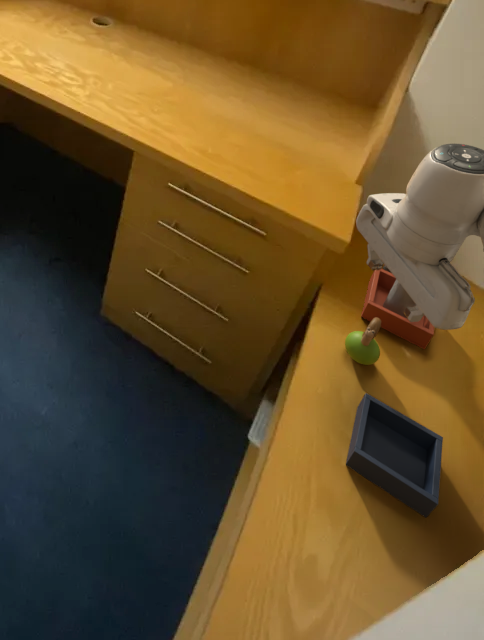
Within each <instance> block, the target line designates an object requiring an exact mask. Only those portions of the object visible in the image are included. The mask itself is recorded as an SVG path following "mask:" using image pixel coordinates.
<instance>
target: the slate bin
mask: <svg viewBox="0 0 484 640" xmlns="http://www.w3.org/2000/svg"><path fill="white" fill-rule="evenodd" d="M443 443H444V436H442V435H440V434H439V433H437V432H435V431H433V430H432V429H429V428H428V427H426V426H424V425H422V424H421V423H419V422H417V421H415V420H414V419H412V418H410V417H409V416H407V415H405V414H403V413H402V412H400V411H398V410H397V409H395V408H393V407H392V406H389V405H388V404H386V403H384V402H383V401H381V400H380V399H377V398H376V397H374V396H372V395H371V394H369V393H367V392H365V393H364V395H363V396H362V398H361V401H360V402H359V404H358V406H357V408H356V412H355V418H354V422H353V426H352V431H351V437H350V443H349V446H348V451H347V456H346V461H345V466H346V467H348V468H349V469H351V470H352V471H354V472H356V473H357V474H358V475H360V476H362V477H363V478H364V479H366V480H367V481H369V482H371V483H372V484H374V485H376V486H377V487H378V488H380V489H381V490H383V491H385V492H386V493H388V494H389V495H391V496H392V497H393V498H395V499H396V500H397V501H399V502H401V503H403V504H404V505H406V506H407V507H409V508H410V509H411V510H413V511H415V512H416V513H418V514H419V515H420V516H422V517H424V518H426V519H427V518H428V517H429V516H430V515H431V513H433V511H434V510H435V509H437V507H438V505H439V501H440V500H439V498H440V485H441V473H442V472H441V469H442V457H443V456H442V455H443Z"/></svg>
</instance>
